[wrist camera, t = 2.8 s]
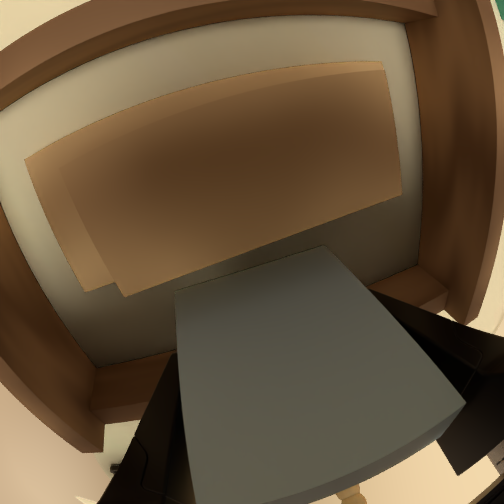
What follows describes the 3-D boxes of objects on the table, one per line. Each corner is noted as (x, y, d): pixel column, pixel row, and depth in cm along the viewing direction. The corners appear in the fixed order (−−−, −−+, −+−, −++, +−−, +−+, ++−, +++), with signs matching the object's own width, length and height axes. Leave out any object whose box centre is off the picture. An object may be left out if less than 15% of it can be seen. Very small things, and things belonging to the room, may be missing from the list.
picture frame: (430, 275, 14) (477, 316, 10) (90, 386, 12) (82, 452, 8) (417, 3, 7) (487, -8, 4) (-46, 116, 5) (-114, 135, 2)
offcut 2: (375, 182, 10) (402, 194, 8) (130, 271, 9) (124, 297, 8) (356, 72, 8) (384, 69, 6) (77, 158, 7) (58, 168, 6)
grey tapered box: (327, 285, 12) (440, 436, 5) (191, 328, 12) (226, 523, 5) (324, 244, 11) (466, 402, 4) (174, 291, 11) (198, 514, 4)
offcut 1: (375, 181, 11) (397, 192, 10) (94, 271, 10) (85, 292, 9) (358, 64, 9) (381, 61, 8) (43, 152, 8) (24, 159, 6)
